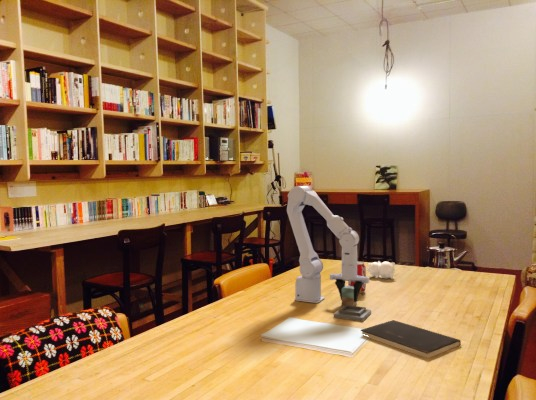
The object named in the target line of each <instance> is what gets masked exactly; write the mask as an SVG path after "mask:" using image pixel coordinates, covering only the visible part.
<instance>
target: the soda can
mask: <svg viewBox="0 0 536 400" xmlns="http://www.w3.org/2000/svg"><path fill="white" fill-rule="evenodd" d="M357 275H359V276H364V277H367V268H366V265H365V262H364V261H359V260H357ZM347 283H348V285H347V286H352V287H354V286H353V284H354V283H355V282H353V281H347ZM366 285H367V283H363V285H362V287H361V290H360V292H359V294H362V293H364V292H366V287H367V286H366Z"/></svg>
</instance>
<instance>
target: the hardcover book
mask: <svg viewBox="0 0 536 400" xmlns="http://www.w3.org/2000/svg"><path fill="white" fill-rule="evenodd" d="M360 332H361V333H362V334H365V335H368V336H369V338H368V339H371V340H374V341H377V342H379V343H383V344H385V345H389V346H392V347H393V348H397V349H400V350H403V351H405V352H409V353H410V354H414V355H416V356H419V357H421V358H425V359H430V358H432V357H434V356H436V355H439V354H442V353H445V352H446V351H449V350H451V349H454V348H457V347H458V346H461V340H460V339H458V338H456V337H455V338H454V337H451V336H448V335H446V334H445V335H444V334H442V333H439V332H435V331H432V330H428V329H425V328H422V327H417V326H415V325H412V324H407V323H404V322H401V321H398V320H393V319H392V320H388V321H386V322H382V323H379V324H375V325H373V326H369V327H365V328H362V329H360Z"/></svg>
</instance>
